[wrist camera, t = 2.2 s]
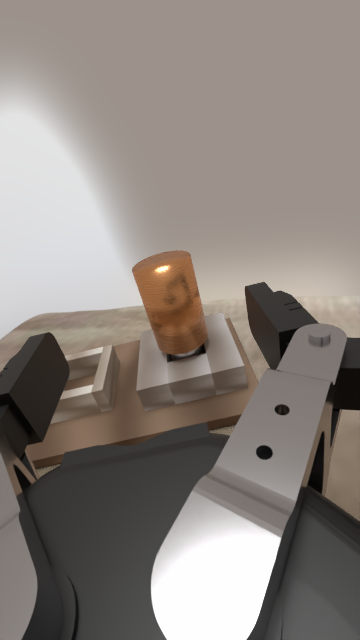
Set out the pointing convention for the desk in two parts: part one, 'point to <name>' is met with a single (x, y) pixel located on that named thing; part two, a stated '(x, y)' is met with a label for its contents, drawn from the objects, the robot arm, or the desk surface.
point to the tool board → (133, 415)
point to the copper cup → (172, 303)
